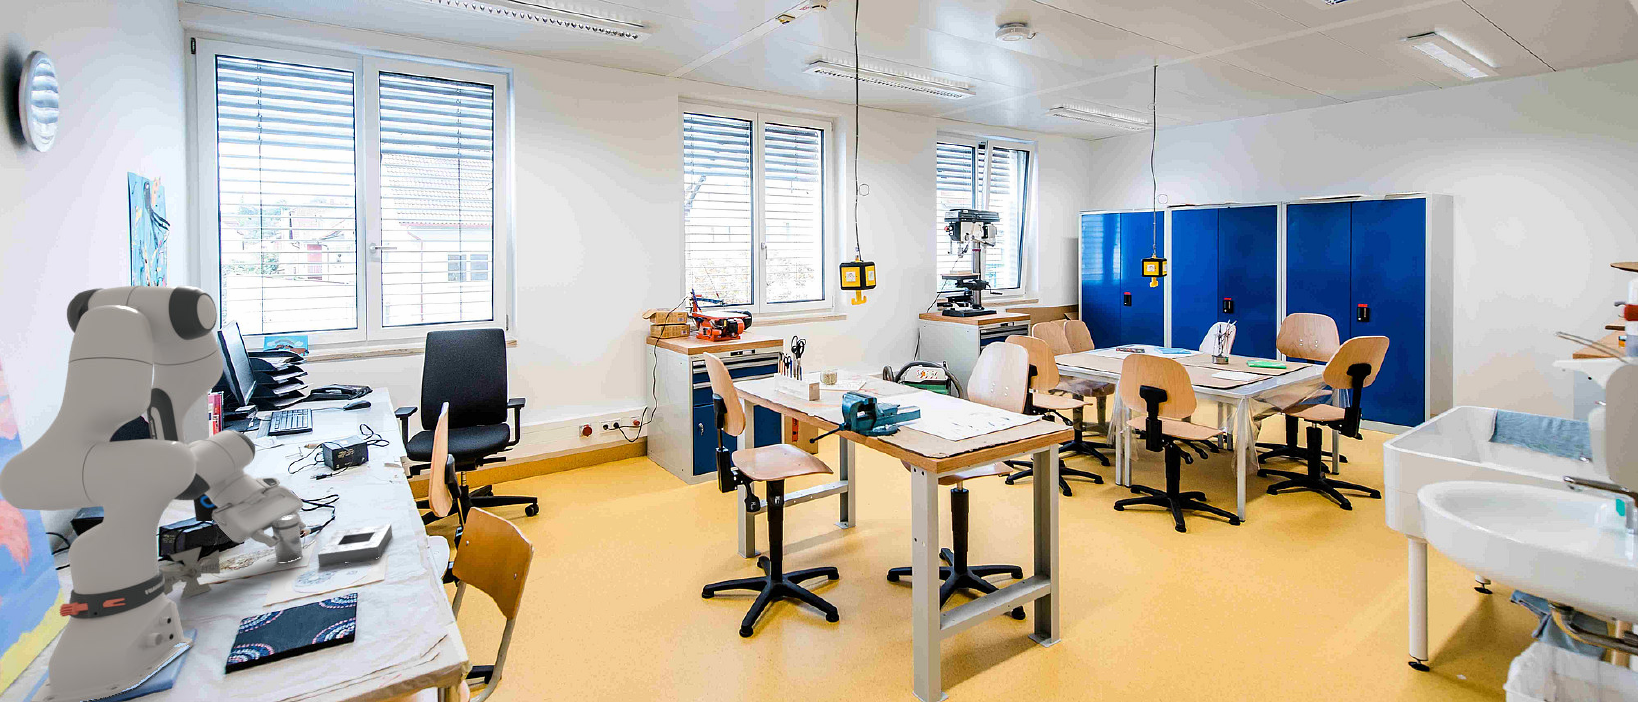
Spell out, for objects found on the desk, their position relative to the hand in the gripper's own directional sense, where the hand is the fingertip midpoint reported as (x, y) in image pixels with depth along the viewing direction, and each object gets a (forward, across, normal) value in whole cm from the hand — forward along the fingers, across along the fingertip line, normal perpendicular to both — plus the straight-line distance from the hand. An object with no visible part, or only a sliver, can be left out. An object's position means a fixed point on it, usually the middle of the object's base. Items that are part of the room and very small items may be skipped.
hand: (289, 536), depth 175 cm
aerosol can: (-15, +14, +23) cm, 31 cm away
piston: (+4, 0, +4) cm, 6 cm away
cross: (-2, -18, +10) cm, 21 cm away
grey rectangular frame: (+13, +4, -5) cm, 15 cm away
